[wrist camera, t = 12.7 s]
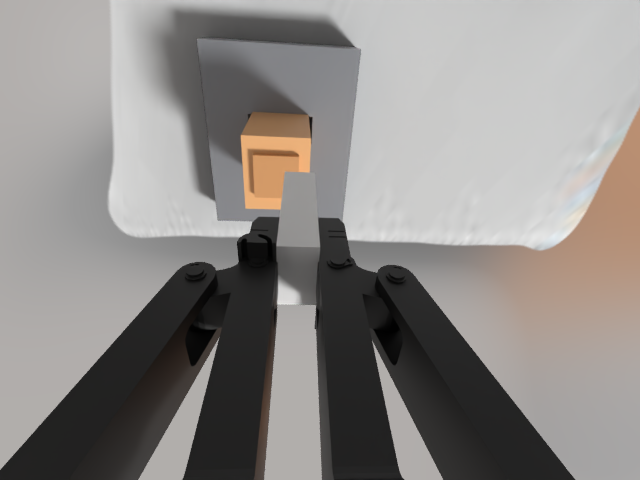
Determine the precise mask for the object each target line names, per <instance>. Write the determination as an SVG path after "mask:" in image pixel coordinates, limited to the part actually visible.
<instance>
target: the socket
mask: <svg viewBox="0 0 640 480" xmlns="http://www.w3.org/2000/svg"><path fill="white" fill-rule="evenodd" d="M197 47H198V56H199V64H200V73H201V81H202V90H203V98H204V107H205V115H206V124H207V133H208V141H209V150H210V158H211V167H212V175H213V184H214V192H215V201H216V209H217V218H218V220H220V221H254V220H255V219H257V218H258V217H280V210H278V209H245V194H244V178H243V163H242V148H241V134H242V132H243V130H244V128H245V126H246V124H247V122H248V120H249V118H250V116H251V114H252V112H266V113H286V114H306V115H309V124H310V133H311V152H310V173H315V185H316V198H317V212H318V217H319V218H339V219H340V220H341V221H342V219H343V210H344V201H345V192H346V182H347V173H348V164H349V155H350V146H351V137H352V128H353V118H354V109H355V100H356V91H357V82H358V73H359V64H360V55H361V49H359V48H356V47H346V46H331V45H316V44H301V43H286V42H271V41H256V40H241V39H226V38H211V37H204V38H198V39H197Z"/></svg>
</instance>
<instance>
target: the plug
mask: <svg viewBox="0 0 640 480" xmlns="http://www.w3.org/2000/svg"><path fill="white" fill-rule="evenodd" d="M241 148H242V163H243V178H244V194H245V209H278V210H281V201H282V192H283V183H284V174H285V172H309V173H310V152H311V133H310V124H309V115H306V114H286V113H266V112H252V114H251V116H250V118H249V120H248V122H247V124H246V126H245V128H244V130H243V132H242V134H241Z"/></svg>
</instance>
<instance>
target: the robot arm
mask: <svg viewBox="0 0 640 480" xmlns="http://www.w3.org/2000/svg"><path fill="white" fill-rule="evenodd" d="M237 248H238V258H239V262H238V264H237V265H235V266H233V267H231V268H227V269H223V270H218V271H216V270H215V267H213V266H212V265H211V264H208V263H205V262H195V263H190V264H187V265H185V266H183V267H181V268H180V269H179V270H178V271H177V272H176V273H175V274H174V275H173V276H172V277H171V278H170V279H169V281H168V282H167V283H166V284H165V285H164V286H163V287H162V288H161V290H160V291H159V292H158V293H157V294H156V295H155V296H154V297H153V299H152V300H151V301H150V302H149V303H148V304H147V305H146V306H145V308H144V309H143V310H142V311H141V312H140V313H139V314H138V316H137V317H136V318H135V319H134V320H133V321H132V322H131V323H130V325H129V326H128V327H127V328H126V329H125V330H124V331H123V333H122V334H121V335H120V336H119V337H118V338H117V339H116V340H115V341H114V343H113V344H112V345H111V346H110V347H109V348H108V349H107V350H106V352H105V353H104V354H103V355H102V356H101V357H100V358H99V359H98V361H97V362H96V363H95V364H94V365H93V366H92V367H91V368H90V370H89V371H88V372H87V373H86V374H85V375H84V376H83V377H82V379H81V380H80V381H79V382H78V383H77V384H76V386H75V387H74V388H73V389H72V390H71V391H70V392H69V393H68V394H67V395H66V397H65V398H64V399H63V400H62V401H61V402H60V403H59V404H58V406H57V407H56V408H55V409H54V410H53V411H52V412H51V414H50V415H49V416H48V417H47V418H46V419H45V420H44V421H43V423H42V424H41V425H40V426H39V427H38V428H37V429H36V431H35V432H34V433H33V434H32V435H31V436H30V437H29V438H28V439H27V441H26V442H25V443H24V444H23V445H22V446H21V447H20V448H19V450H18V451H17V452H16V453H15V454H14V455H13V456H12V458H11V459H10V460H9V461H8V462H7V463H6V464H5V465H4V466H3V468H2V469H1V470H0V480H138V479H139V477H140V475H141V473H142V472H143V470H144V468H145V466H146V465H147V463H148V461H149V460H150V458H151V456H152V454H153V453H154V451H155V449H156V447H157V446H158V444H159V442H160V440H161V438H162V437H163V435H164V433H165V431H166V430H167V428H168V426H169V425H170V423H171V421H172V419H173V417H174V416H175V414H176V412H177V410H178V409H179V407H180V405H181V403H182V401H183V400H184V398H185V396H186V395H187V393H188V391H189V389H190V387H191V386H192V384H193V382H194V381H195V379H196V377H197V375H198V373H199V372H200V370H201V368H202V367H203V365H204V363H205V361H206V359H207V358H208V356H209V354H210V352H211V351H212V349H213V347H214V345H215V344H216V342H217V340H218V338H219V341H218V345H217V349H216V353H215V358H214V361H213V365H212V369H211V373H210V377H209V381H208V385H207V389H206V393H205V396H204V400H203V404H202V408H201V413H200V416H199V420H198V424H197V428H196V432H195V436H194V440H193V444H192V448H191V452H190V456H189V460H188V464H187V467H186V471H185V474H184V478H183V480H264V471H265V460H266V447H267V434H268V423H269V410H270V398H271V386H272V373H273V361H274V347H275V336H276V323H277V304H292V305H295V304H296V305H298V304H299V305H316V317H315V329H316V336H317V361H318V387H319V413H320V438H321V462H322V463H321V464H322V480H404V479H403V478H402V476H401V474H400V471H399V467H398V464H397V458H396V454H395V449H394V444H393V439H392V435H391V430H390V425H389V420H388V415H387V410H386V406H385V401H384V396H383V391H382V387H381V382H380V377H379V372H378V367H377V363H376V358H375V353H374V348H373V343H374V345H375V346H376V348H377V350H378V352H379V354H380V356H381V358H382V360H383V362H384V364H385V366H386V368H387V370H388V372H389V374H390V376H391V378H392V380H393V382H394V384H395V386H396V388H397V390H398V392H399V393H400V395H401V397H402V399H403V401H404V403H405V405H406V407H407V409H408V411H409V413H410V415H411V417H412V419H413V421H414V423H415V425H416V427H417V429H418V431H419V433H420V435H421V437H422V439H423V441H424V442H425V445H426V447H427V448H428V450H429V452H430V454H431V456H432V458H433V460H434V462H435V464H436V466H437V468H438V470H439V472H440V474H441V476H442V478H443V480H575V479H574V478H573V476H572V475H571V474H570V473H569V472H568V470H567V469H566V467H565V466H564V465H563V464H562V463H561V461H560V460H559V459H558V457H557V456H556V455H555V454H554V452H553V451H552V450H551V448H550V447H549V446H548V445H547V443H546V442H545V441H544V440H543V438H542V437H541V436H540V434H539V433H538V432H537V431H536V429H535V428H534V427H533V426H532V424H531V423H530V422H529V421H528V419H527V418H526V417H525V415H524V414H523V413H522V412H521V410H520V409H519V408H518V407H517V405H516V404H515V403H514V402H513V400H512V399H511V398H510V396H509V395H508V394H507V393H506V391H505V390H504V389H503V388H502V387H501V385H500V384H499V382H498V381H497V380H496V379H495V378H494V376H493V375H492V374H491V372H490V371H489V370H488V369H487V367H486V366H485V365H484V364H483V362H482V361H481V360H480V358H479V357H478V356H477V355H476V353H475V352H474V351H473V350H472V348H471V347H470V346H469V344H468V343H467V342H466V341H465V339H464V338H463V337H462V336H461V334H460V333H459V332H458V331H457V330H456V328H455V327H454V326H453V325H452V323H451V322H450V320H449V319H448V318H447V317H446V315H445V314H444V313H443V311H442V310H441V309H440V308H439V306H438V305H437V304H436V303H435V302H434V300H433V299H432V298H431V296H430V295H429V294H428V292H427V291H426V290H425V289H424V287H423V286H422V285H421V284H420V282H419V281H418V280H417V278H416V277H415V276H414V275H413V274H412V273H411V272H410V271H409V270H407V269H406V268H403V267H401V266H396V265H386V266H383V267H381V268H380V269H379V270H378V273H375V272H371V271H367V270H364V269H362V268H360V267H358V266H357V265H356V263H355V261H354V259H353V258H351V256H350V251H349V246H348V241H347V236H346V231H345V226H344V223H343V222H342V221H341V220H340V219H339V218H319V217H318V212H317V198H316V185H315V173H309V172H285V174H284V183H283V192H282V201H281V210H280V217H258V218H257V219H255V220H254V221H253V222H252V226H251V231H250V233H249V234H245V235H243V236H242V237H240V238H239V240H238V241H237ZM372 341H373V343H372Z"/></svg>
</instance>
